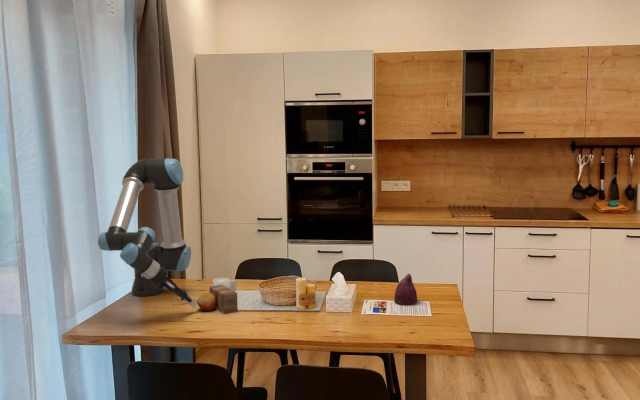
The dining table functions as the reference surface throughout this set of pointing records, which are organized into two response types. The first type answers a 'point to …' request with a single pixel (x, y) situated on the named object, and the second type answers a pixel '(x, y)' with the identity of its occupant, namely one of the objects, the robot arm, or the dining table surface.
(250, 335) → the dining table surface
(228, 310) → the brown wooden block
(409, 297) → the vegetable
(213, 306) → the fruit
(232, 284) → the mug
